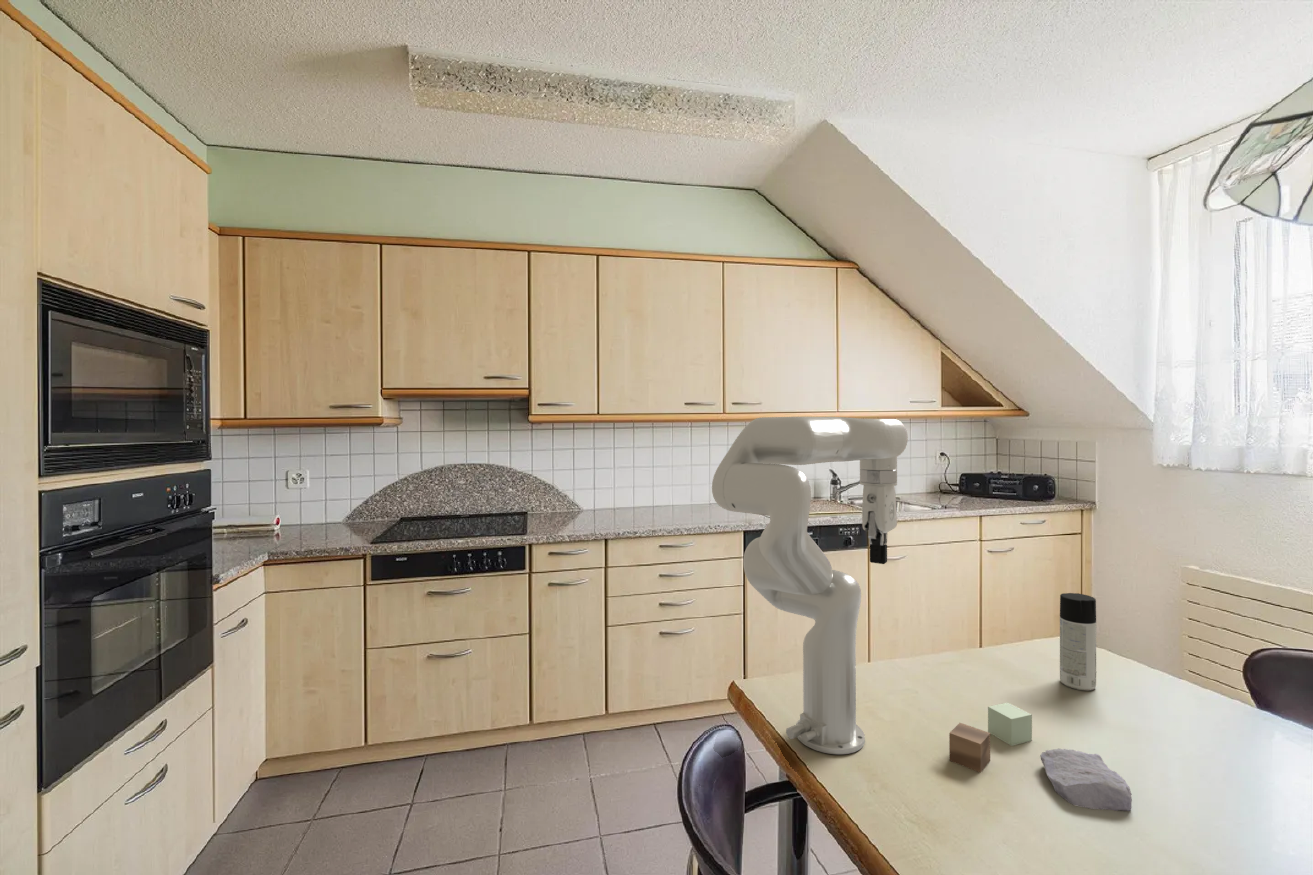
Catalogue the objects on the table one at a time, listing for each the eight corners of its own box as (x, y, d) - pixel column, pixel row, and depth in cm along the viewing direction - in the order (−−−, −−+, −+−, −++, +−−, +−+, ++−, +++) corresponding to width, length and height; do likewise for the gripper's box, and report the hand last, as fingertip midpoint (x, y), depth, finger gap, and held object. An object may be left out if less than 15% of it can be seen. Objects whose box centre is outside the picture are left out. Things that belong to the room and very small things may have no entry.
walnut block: (980, 773, 98) (980, 743, 98) (949, 760, 101) (949, 732, 101) (990, 761, 101) (990, 732, 101) (959, 749, 105) (959, 722, 105)
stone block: (1068, 819, 89) (1141, 813, 87) (1061, 787, 89) (1133, 781, 87) (1034, 776, 101) (1098, 770, 99) (1028, 748, 101) (1091, 742, 99)
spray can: (1104, 691, 127) (1104, 600, 126) (1072, 691, 127) (1073, 600, 126) (1082, 678, 133) (1082, 591, 133) (1052, 678, 133) (1052, 592, 133)
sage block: (1011, 746, 106) (1011, 718, 106) (987, 732, 111) (988, 706, 111) (1031, 741, 107) (1031, 714, 107) (1007, 727, 112) (1007, 702, 112)
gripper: (886, 481, 117) (887, 572, 117) (905, 476, 129) (905, 558, 129) (849, 479, 121) (849, 567, 121) (870, 474, 133) (870, 554, 133)
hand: (878, 562), depth 125 cm, fingers closed
